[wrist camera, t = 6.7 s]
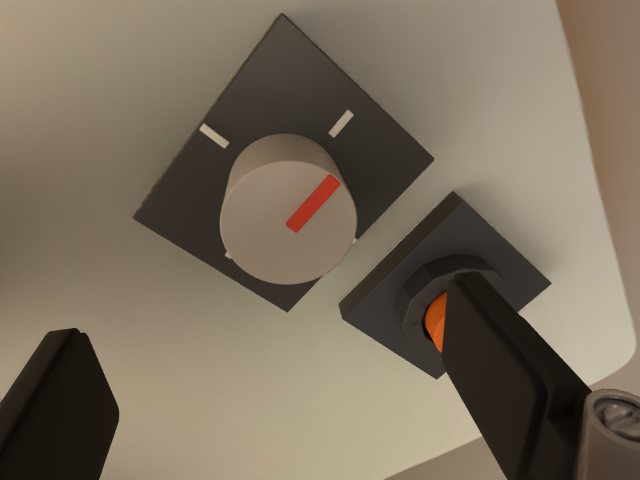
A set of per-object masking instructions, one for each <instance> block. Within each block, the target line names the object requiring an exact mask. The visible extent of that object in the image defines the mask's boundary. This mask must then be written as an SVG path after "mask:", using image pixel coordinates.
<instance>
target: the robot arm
mask: <svg viewBox="0 0 640 480" xmlns="http://www.w3.org/2000/svg"><path fill="white" fill-rule="evenodd" d="M441 357H442V363H443V366H444V368H445V370H446V372H447V374H448V375H449V377H450V379H451V381H452V382H453V384H454V386H455V388H456V390H457V391H458V393H459V395H460V397H461V398H462V400H463V402H464V404H465V406H466V407H467V409H468V411H469V413H470V414H471V416H472V418H473V420H474V421H475V423H476V425H477V427H478V429H479V430H480V432H481V434H482V436H483V437H484V439H485V441H486V443H487V445H488V446H489V448H490V450H491V451H492V453H493V455H494V457H495V459H496V460H497V462H498V464H499V466H500V468H501V469H502V471H503V473H504V474H505V476H506V478H507V480H640V397H638V396H635V395H633V394H631V393H628V392H625V391H620V390H616V389H599V390H596V391H593V392H592V391H591V390H590V389H589V388H588V386H587V385H586V384H585V383H584V382H583V381H582V380H581V379H580V378H579V377H578V376H577V375H576V373H575V372H574V371H573V370H572V369H571V368H570V367H569V366H568V365H567V364H566V363H565V362H564V361H563V360H562V358H561V357H560V356H559V355H558V354H557V353H556V352H555V351H554V350H553V349H552V348H551V347H550V346H549V345H548V343H547V342H546V341H545V340H544V339H543V338H542V337H541V336H540V335H539V334H538V333H537V332H536V331H535V330H534V328H533V327H532V326H531V325H530V324H529V323H528V322H527V321H526V320H525V319H524V318H523V317H521V316H520V315H519V314H518V313H517V312H516V311H515V310H514V309H513V308H512V306H511V305H510V304H509V303H508V302H507V301H506V300H505V299H504V298H503V297H502V296H501V295H500V294H499V292H498V291H497V290H496V289H495V288H494V287H493V286H492V285H491V284H490V283H489V282H488V281H487V280H486V278H485V277H484V276H483V275H482V274H481V273H480V272H479V271H470V272H463V273H457V274H455V276H454V278H453V279H452V280H449V282H448V287H447V298H446V309H445V320H444V331H443V343H442V354H441ZM118 421H119V408H118V405H117V403H116V401H115V398H114V396H113V394H112V391H111V389H110V387H109V384H108V382H107V379H106V377H105V375H104V372H103V370H102V368H101V365H100V363H99V361H98V358H97V356H96V354H95V351H94V349H93V347H92V344H91V342H90V340H89V337H88V336H87V334H86V333H80V331H79V330H78V329H77V328H70V329H63V330H56V331H50V332H48V333H47V334H46V335H45V337H44V338H43V340H42V341H41V343H40V344H39V346H38V347H37V349H36V350H35V352H34V353H33V355H32V356H31V358H30V359H29V361H28V362H27V364H26V365H25V367H24V368H23V370H22V371H21V373H20V374H19V376H18V377H17V379H16V380H15V382H14V383H13V385H12V386H11V388H10V389H9V391H8V392H7V394H6V395H5V397H4V398H3V400H2V401H1V403H0V480H99V478H100V475H101V472H102V469H103V466H104V463H105V460H106V457H107V454H108V452H109V449H110V446H111V443H112V440H113V437H114V434H115V431H116V428H117V425H118Z"/></svg>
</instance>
